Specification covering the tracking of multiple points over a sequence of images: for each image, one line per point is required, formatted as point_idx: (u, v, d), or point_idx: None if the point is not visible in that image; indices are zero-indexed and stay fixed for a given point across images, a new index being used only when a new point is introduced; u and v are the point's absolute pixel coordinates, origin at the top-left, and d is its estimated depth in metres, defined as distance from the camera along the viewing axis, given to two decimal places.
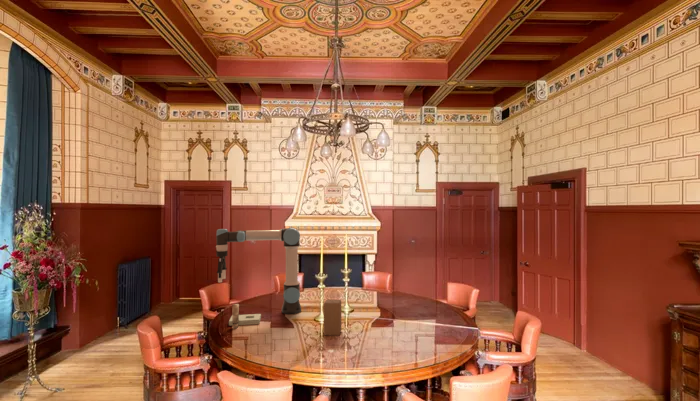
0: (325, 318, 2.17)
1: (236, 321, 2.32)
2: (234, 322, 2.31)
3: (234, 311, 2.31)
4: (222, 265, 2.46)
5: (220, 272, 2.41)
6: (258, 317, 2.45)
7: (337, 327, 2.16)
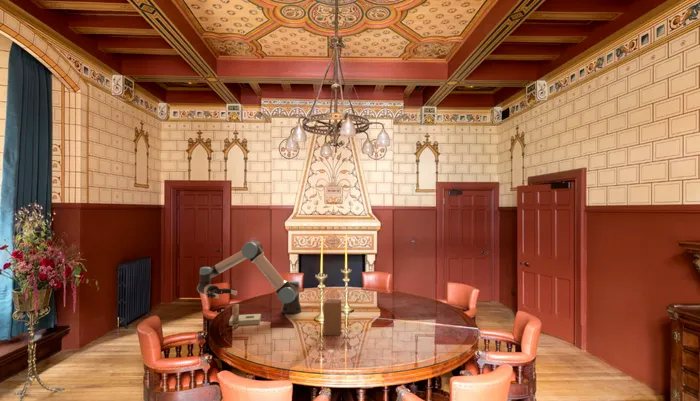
0: (325, 318, 2.17)
1: (236, 321, 2.32)
2: (234, 322, 2.31)
3: (234, 311, 2.31)
4: (212, 291, 2.44)
5: (208, 294, 2.37)
6: (258, 317, 2.45)
7: (337, 327, 2.16)
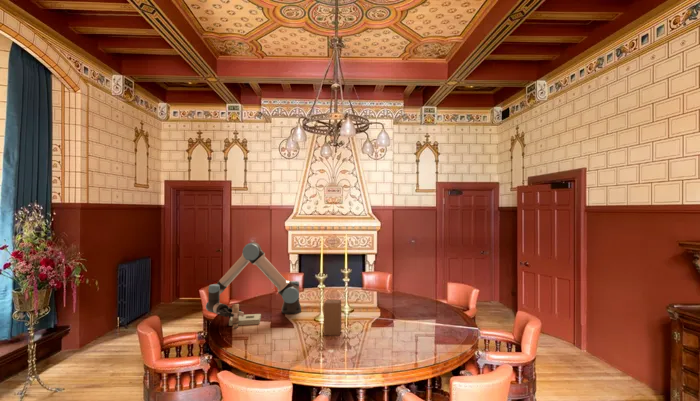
0: (325, 318, 2.17)
1: (236, 321, 2.32)
2: (234, 322, 2.31)
3: (234, 311, 2.31)
4: (226, 311, 2.36)
5: (227, 313, 2.31)
6: (258, 317, 2.45)
7: (337, 327, 2.16)
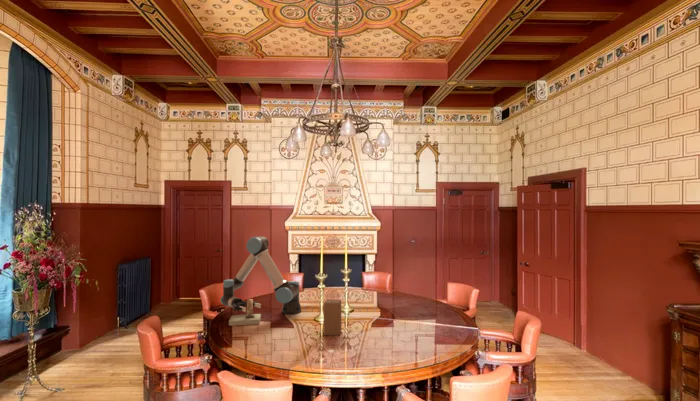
0: (325, 318, 2.17)
1: (250, 315, 2.45)
2: (248, 316, 2.44)
3: (248, 306, 2.45)
4: (238, 304, 2.48)
5: (235, 307, 2.42)
6: (258, 317, 2.45)
7: (337, 327, 2.16)
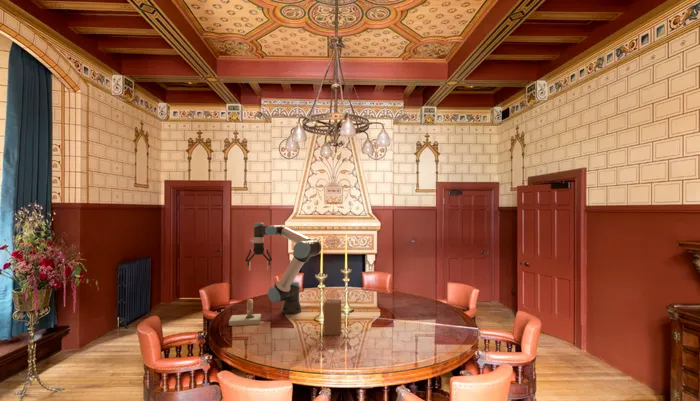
0: (325, 318, 2.17)
1: (250, 315, 2.45)
2: (248, 316, 2.44)
3: (248, 306, 2.45)
4: (252, 255, 2.71)
5: None
6: (258, 317, 2.45)
7: (337, 327, 2.16)
